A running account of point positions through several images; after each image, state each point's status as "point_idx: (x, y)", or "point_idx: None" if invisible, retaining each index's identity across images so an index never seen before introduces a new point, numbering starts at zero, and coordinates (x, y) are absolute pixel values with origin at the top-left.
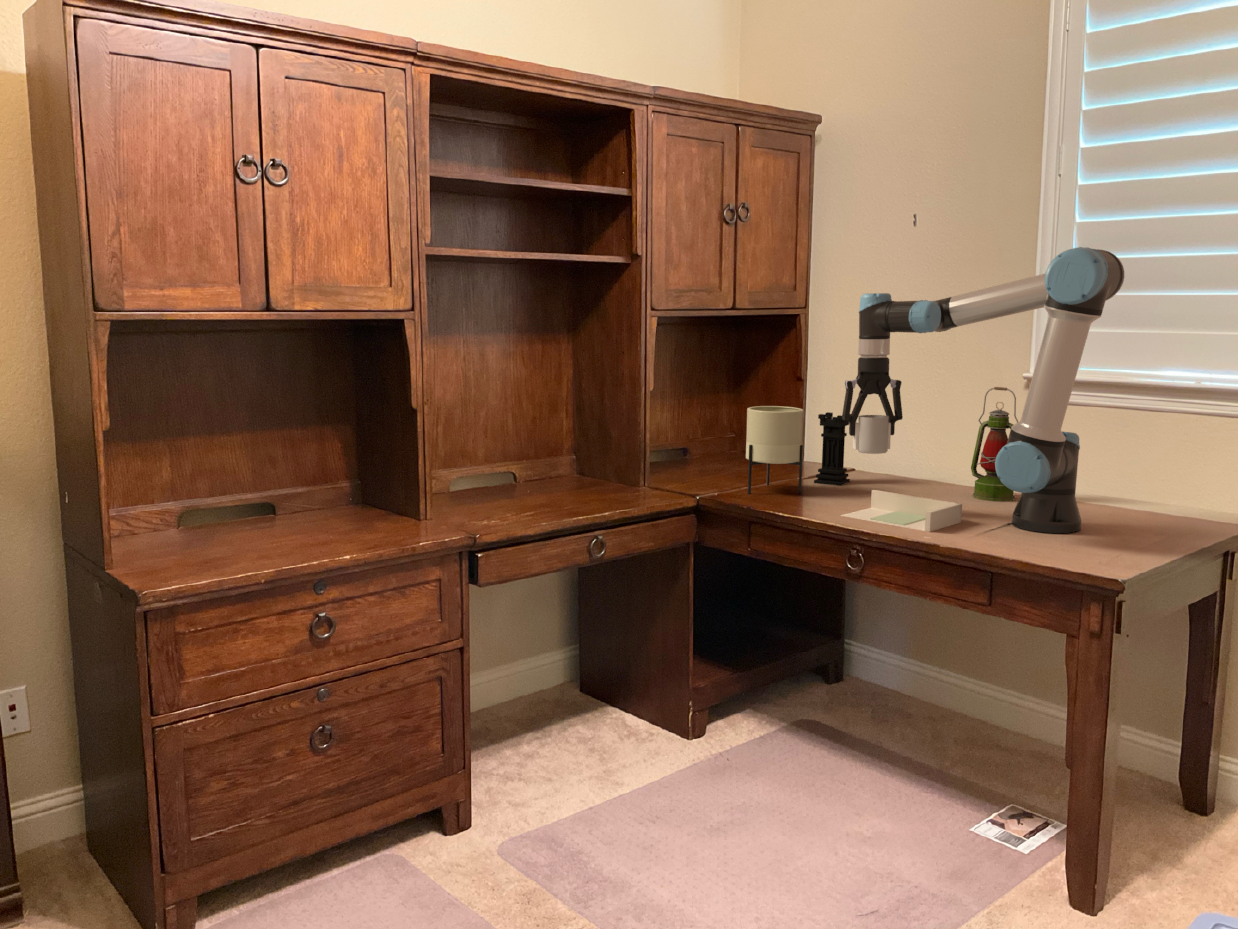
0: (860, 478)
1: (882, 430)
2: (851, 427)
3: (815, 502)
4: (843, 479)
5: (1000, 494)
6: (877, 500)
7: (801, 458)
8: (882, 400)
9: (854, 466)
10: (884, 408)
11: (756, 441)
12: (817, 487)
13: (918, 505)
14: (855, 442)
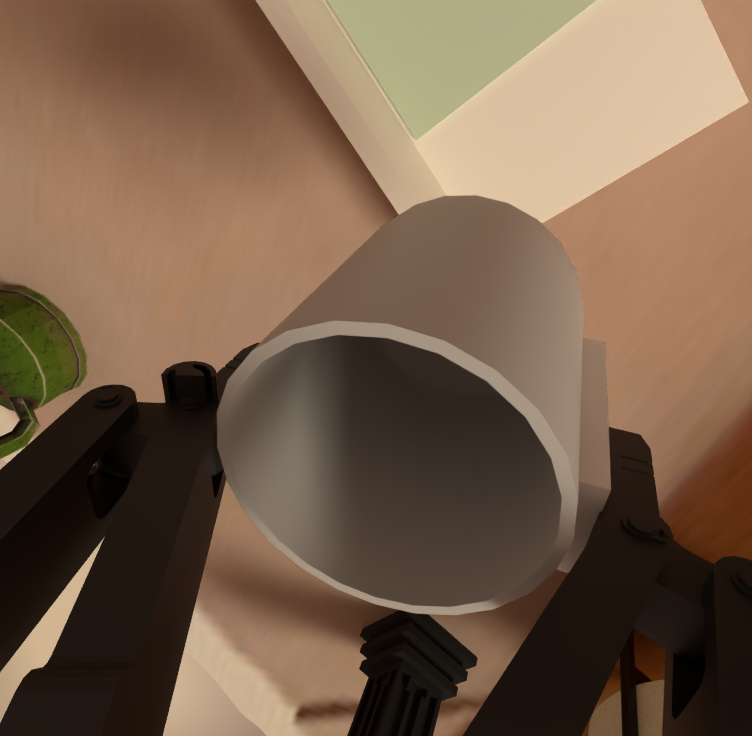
0: (318, 644)
1: (379, 258)
2: (648, 490)
3: (651, 432)
4: (385, 633)
5: (7, 298)
6: None
7: (630, 690)
8: (157, 649)
9: (286, 732)
10: (194, 565)
11: None
12: (498, 612)
13: (332, 47)
14: (605, 375)
